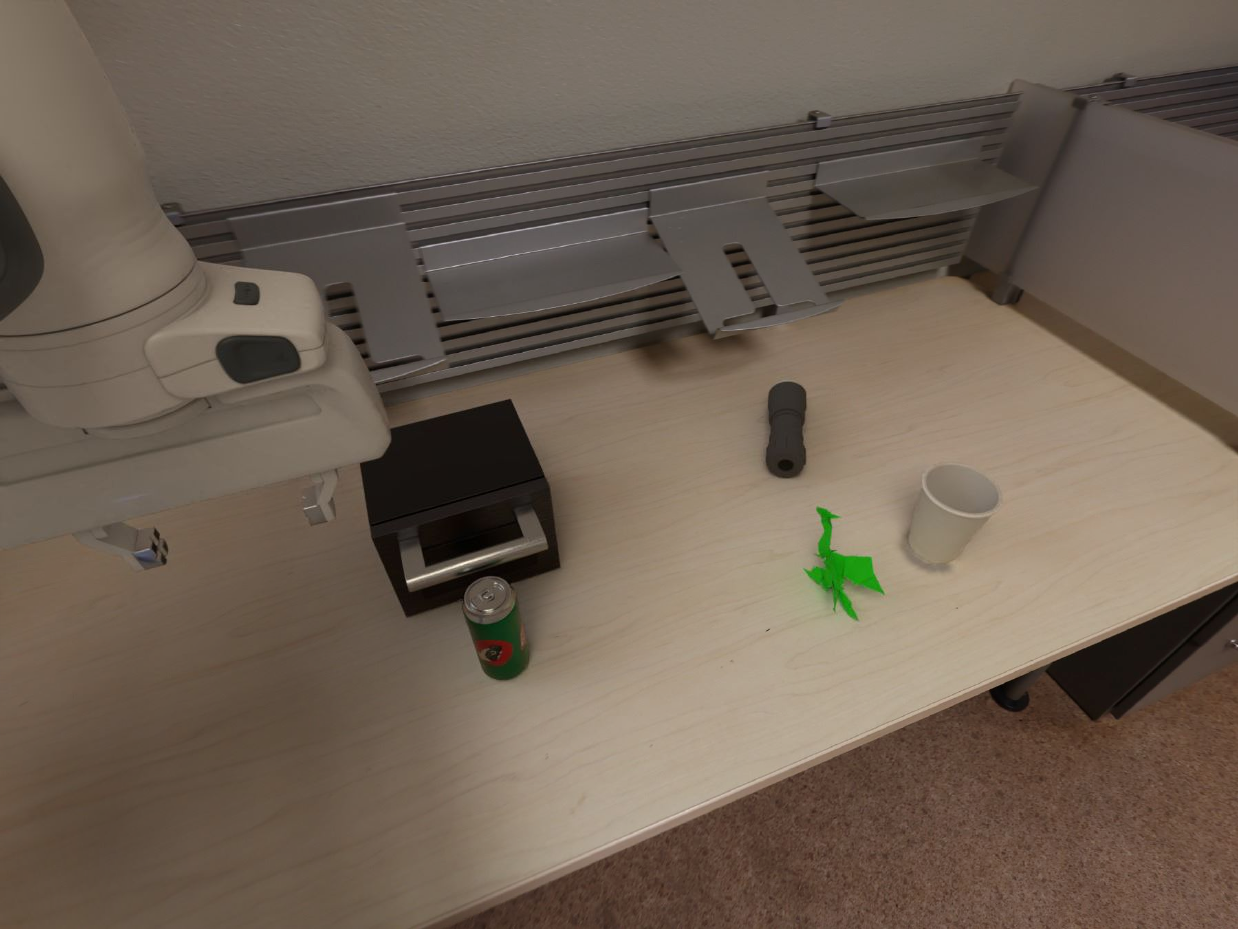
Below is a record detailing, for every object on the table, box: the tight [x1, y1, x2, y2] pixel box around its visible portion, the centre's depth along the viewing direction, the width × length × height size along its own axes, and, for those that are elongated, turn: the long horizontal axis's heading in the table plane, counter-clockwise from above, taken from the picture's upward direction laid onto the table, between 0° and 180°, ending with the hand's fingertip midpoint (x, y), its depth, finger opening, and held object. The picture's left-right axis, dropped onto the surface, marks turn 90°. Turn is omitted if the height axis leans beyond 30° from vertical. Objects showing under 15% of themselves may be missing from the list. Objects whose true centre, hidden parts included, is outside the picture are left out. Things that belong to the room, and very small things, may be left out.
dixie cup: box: [907, 461, 1004, 564], centre depth 74 cm, size 8×8×10 cm
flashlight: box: [765, 379, 808, 479], centre depth 90 cm, size 15×5×5 cm, turn 169°
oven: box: [359, 398, 546, 528], centre depth 75 cm, size 14×18×14 cm
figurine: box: [802, 506, 886, 622], centre depth 71 cm, size 6×12×9 cm, turn 21°
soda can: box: [461, 576, 530, 681], centre depth 64 cm, size 5×5×12 cm
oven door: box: [369, 476, 562, 618], centre depth 68 cm, size 7×18×14 cm, turn 112°
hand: (241, 537), depth 39 cm, fingers open, 8 cm apart
